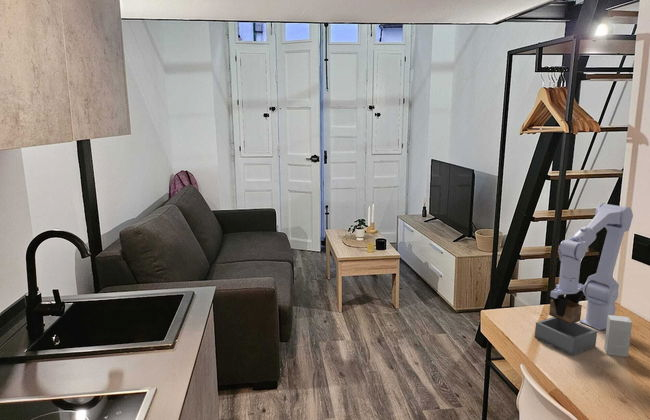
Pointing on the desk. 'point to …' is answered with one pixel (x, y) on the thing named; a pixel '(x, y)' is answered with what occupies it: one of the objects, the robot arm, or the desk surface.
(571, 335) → the big crate
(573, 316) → the small crate
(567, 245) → the robot arm
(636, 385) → the desk surface
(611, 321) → the skincare box
